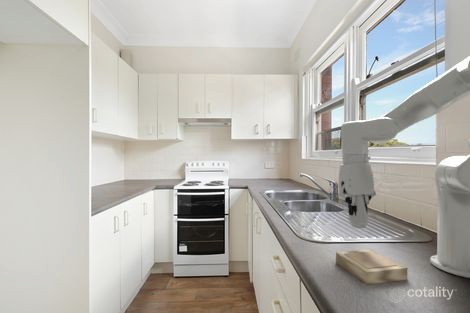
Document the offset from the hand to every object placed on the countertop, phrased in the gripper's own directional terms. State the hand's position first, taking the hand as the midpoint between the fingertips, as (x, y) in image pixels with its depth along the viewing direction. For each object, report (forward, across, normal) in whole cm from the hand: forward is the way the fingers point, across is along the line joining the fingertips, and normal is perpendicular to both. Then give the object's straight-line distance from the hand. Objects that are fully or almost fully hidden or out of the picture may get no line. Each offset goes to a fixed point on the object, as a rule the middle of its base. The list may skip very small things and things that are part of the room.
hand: (358, 216), depth 75 cm
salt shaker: (+4, 0, 0) cm, 4 cm away
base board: (+12, +6, +10) cm, 17 cm away
